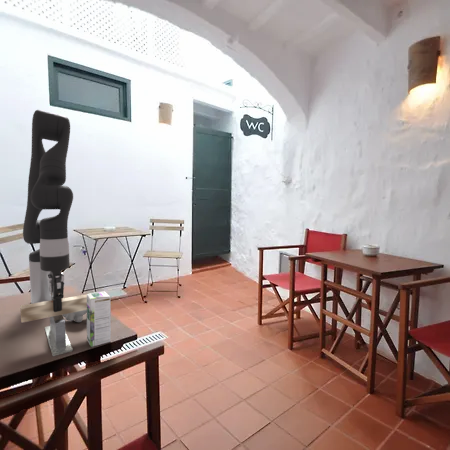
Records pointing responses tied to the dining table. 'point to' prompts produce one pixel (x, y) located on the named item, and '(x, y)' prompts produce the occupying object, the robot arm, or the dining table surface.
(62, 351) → the ridge
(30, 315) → the beam
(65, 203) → the robot arm
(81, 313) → the chubby cartoon animal
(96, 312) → the syrup box
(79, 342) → the dining table surface
